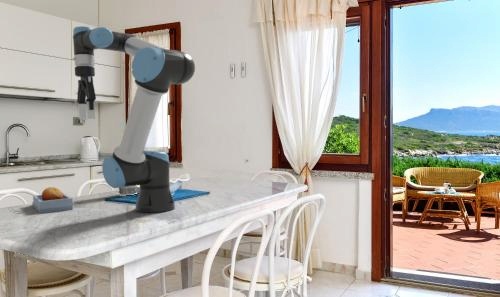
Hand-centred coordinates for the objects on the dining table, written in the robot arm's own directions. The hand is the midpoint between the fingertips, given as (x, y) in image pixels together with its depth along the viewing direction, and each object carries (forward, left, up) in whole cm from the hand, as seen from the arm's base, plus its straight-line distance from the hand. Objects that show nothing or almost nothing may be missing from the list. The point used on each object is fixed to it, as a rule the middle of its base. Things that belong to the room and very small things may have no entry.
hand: (86, 119), depth 179 cm
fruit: (+13, -10, -35) cm, 39 cm away
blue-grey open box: (+13, -12, -36) cm, 40 cm away
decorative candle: (-23, -24, -37) cm, 50 cm away
